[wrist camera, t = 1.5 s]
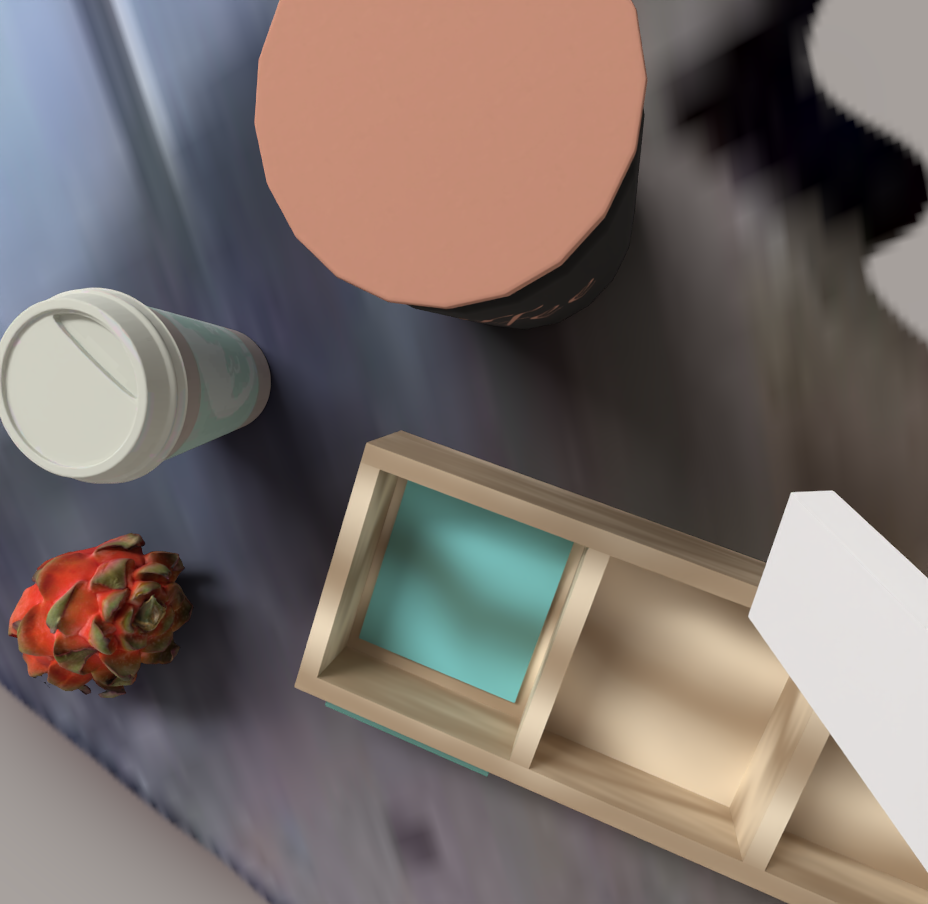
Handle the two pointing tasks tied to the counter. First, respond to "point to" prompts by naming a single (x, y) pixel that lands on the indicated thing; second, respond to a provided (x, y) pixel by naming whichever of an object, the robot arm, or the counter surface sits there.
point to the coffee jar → (458, 148)
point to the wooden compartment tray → (592, 673)
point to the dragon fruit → (101, 615)
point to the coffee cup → (122, 384)
